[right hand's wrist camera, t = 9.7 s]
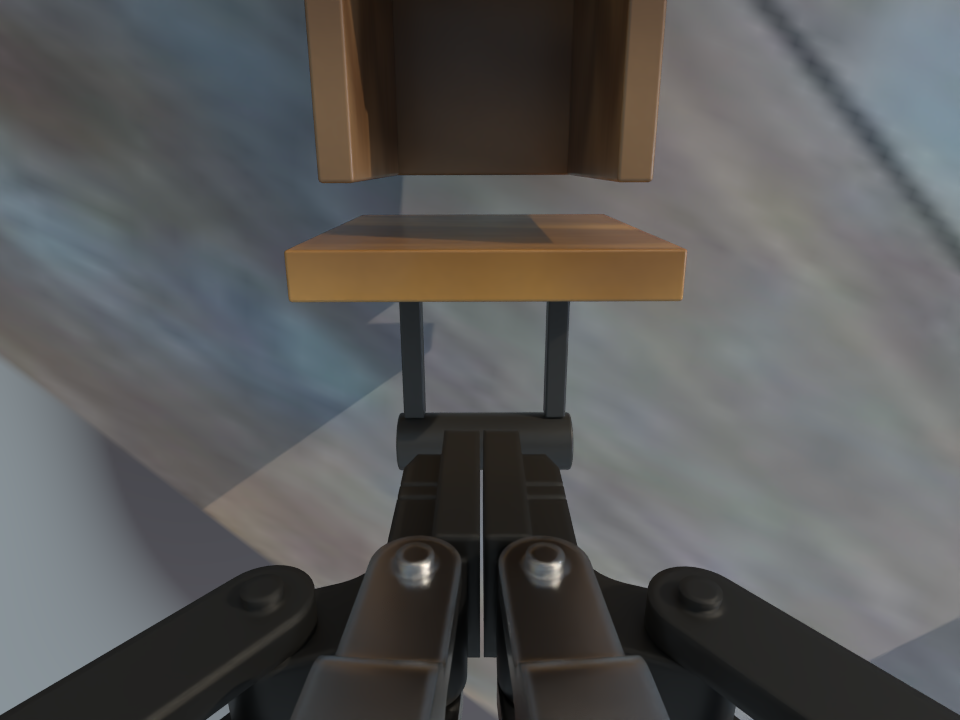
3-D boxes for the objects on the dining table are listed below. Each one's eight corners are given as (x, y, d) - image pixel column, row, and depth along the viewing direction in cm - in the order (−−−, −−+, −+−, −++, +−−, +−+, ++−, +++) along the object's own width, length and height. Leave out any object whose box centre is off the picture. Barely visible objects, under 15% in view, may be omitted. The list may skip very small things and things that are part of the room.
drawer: (594, 394, 25) (660, 528, 16) (371, 395, 25) (310, 528, 16) (644, -474, 17) (831, -1190, 8) (319, -473, 17) (140, -1189, 8)
